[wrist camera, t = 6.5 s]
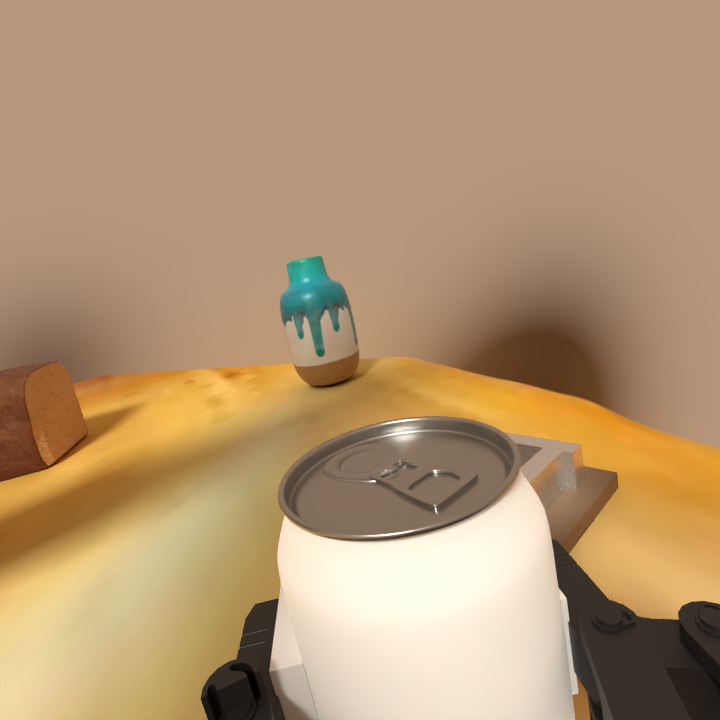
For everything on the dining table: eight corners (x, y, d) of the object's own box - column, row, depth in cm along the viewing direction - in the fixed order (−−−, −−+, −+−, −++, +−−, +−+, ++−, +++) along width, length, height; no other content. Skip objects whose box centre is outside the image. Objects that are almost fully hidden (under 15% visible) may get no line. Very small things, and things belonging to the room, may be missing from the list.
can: (450, 687, 17) (394, 400, 15) (634, 826, 12) (595, 429, 10) (319, 844, 13) (212, 489, 11) (511, 1140, 8) (396, 612, 6)
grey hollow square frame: (319, 518, 29) (311, 484, 29) (426, 447, 37) (421, 419, 36) (484, 598, 20) (476, 550, 19) (585, 481, 27) (581, 444, 27)
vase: (341, 393, 62) (310, 255, 58) (285, 395, 67) (253, 269, 63) (377, 370, 70) (352, 249, 66) (324, 373, 76) (298, 262, 72)
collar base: (291, 540, 29) (287, 527, 29) (430, 447, 39) (428, 436, 39) (490, 658, 18) (486, 638, 18) (618, 487, 28) (617, 472, 27)
